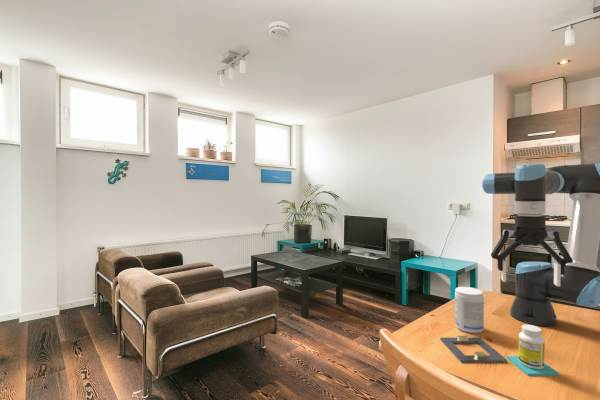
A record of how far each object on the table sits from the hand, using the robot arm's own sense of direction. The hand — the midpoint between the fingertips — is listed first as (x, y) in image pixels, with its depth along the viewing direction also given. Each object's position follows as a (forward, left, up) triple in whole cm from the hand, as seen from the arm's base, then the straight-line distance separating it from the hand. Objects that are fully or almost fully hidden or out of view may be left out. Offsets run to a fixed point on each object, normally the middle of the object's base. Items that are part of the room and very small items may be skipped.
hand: (529, 282), depth 93 cm
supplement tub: (+7, -21, -24) cm, 33 cm away
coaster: (+2, +4, -24) cm, 24 cm away
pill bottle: (+2, +4, -24) cm, 24 cm away
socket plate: (+15, -5, -24) cm, 29 cm away
